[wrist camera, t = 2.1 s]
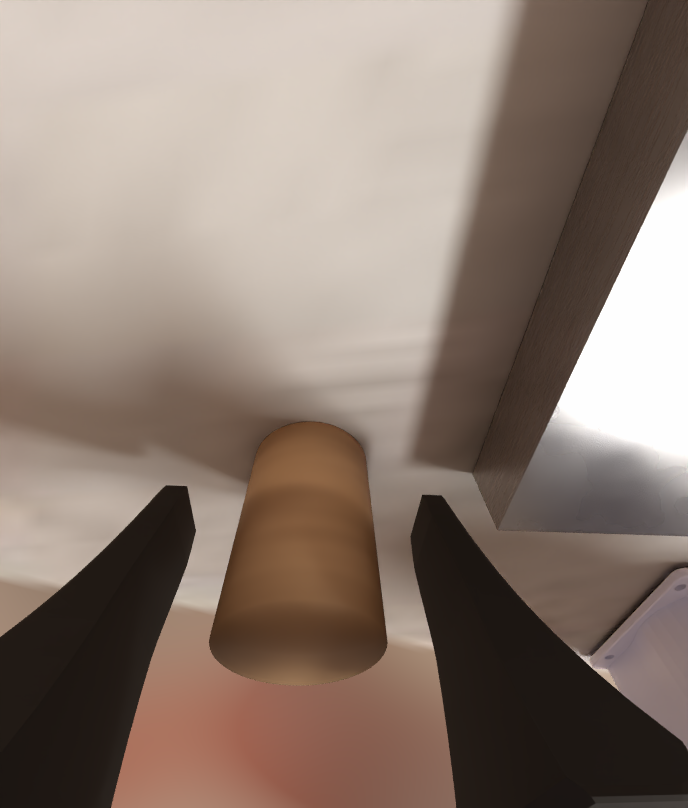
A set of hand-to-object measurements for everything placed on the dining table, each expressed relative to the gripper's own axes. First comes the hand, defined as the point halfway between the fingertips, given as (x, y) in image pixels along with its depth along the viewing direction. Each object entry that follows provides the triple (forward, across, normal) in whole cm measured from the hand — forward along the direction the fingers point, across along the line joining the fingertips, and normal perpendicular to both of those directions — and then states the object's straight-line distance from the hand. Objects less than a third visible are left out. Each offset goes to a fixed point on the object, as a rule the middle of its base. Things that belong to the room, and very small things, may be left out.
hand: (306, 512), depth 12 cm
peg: (+2, 0, 0) cm, 2 cm away
